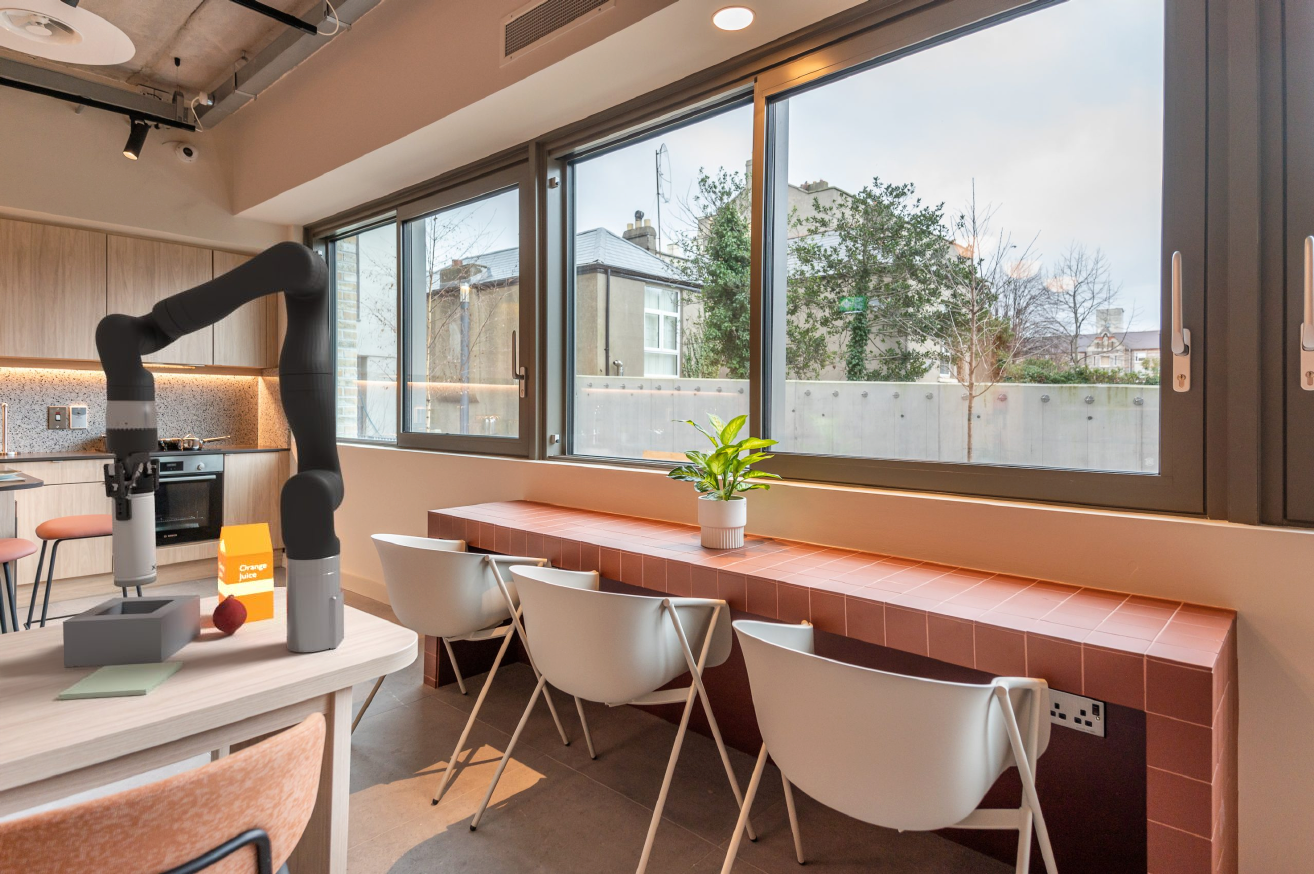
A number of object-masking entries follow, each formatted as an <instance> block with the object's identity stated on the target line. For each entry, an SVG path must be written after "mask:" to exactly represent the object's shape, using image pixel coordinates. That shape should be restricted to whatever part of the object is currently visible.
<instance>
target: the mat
mask: <svg viewBox="0 0 1314 874" xmlns="http://www.w3.org/2000/svg"><path fill="white" fill-rule="evenodd" d="M183 667H184V661H174V662H173V661H172V662H171V661H170V662H162V663H143V664H124V665H105V666H101V668H99V669H97V670H95V671H94V672H92V673H91V674H89V675H87V676H86V677H84V678H82V679H81V680H79V681H78V682H76V683H75V684H73V685H71V686H70V687H68V688H67V689H65V690H64V691H62V692H59V694H58V698H57V699H58V700H61V699H62V700H79V699H89V698H90V699H91V698H92V699H93V698H94V699H95V698H109V697H110V698H111V697H127V696H128V697H129V696H143V695H147V694H149V693H151V692H152V691H153V690H154V689H155V688H157V687H158V686H159V685H161V684H162V683H163V682H165V681H166V680H167V679H169V678H170V677H172V676H173V675H174V674H175V673H176V672H178V671H179V670H180V669H181V668H183Z"/></svg>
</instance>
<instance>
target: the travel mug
mask: <svg viewBox="0 0 1314 874" xmlns="http://www.w3.org/2000/svg"><path fill="white" fill-rule="evenodd" d="M153 477H155V473H149V477H147V478H146V477H145V478H143V479H137V480H136V481H137V486H136V487H134V488H133V492H132V496H131V505H132V518H131V519H130V520H127V521H118V520H116V509H115V500H113V498H112V497H111V522H112V524H111V525H112V529H111V530H112V557H113V576H114V577H113V585H114V586H115V587H117V588H118V587H119V588H132V587H140V586H141V587H142V586H147V585H150V584H152V583H155V582H156V581H157V579H158V578H157V548H156V547H157V545H156V543H157V542H156V540H157V539H156V512H155V511H156V510H155V508H156V507H155V495H154V494H155V490H154V488H153V486H154V480H153ZM130 481H131V480H130ZM124 482H129V481H124ZM112 488H113V490H114V486H113V485H112ZM126 488H127V487H125V492H126Z"/></svg>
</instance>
